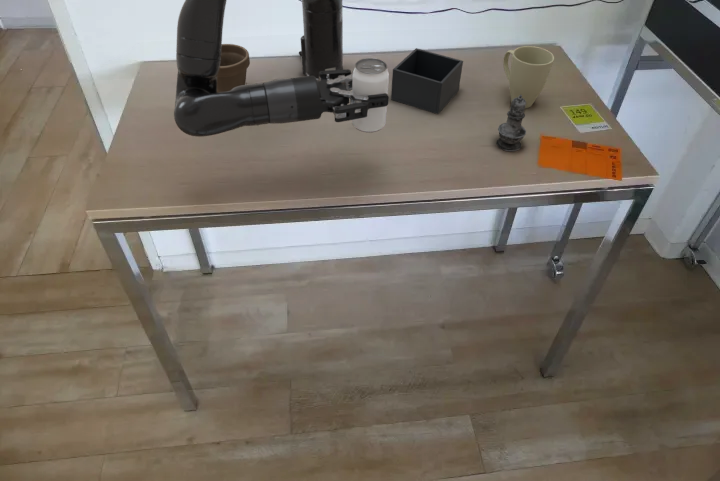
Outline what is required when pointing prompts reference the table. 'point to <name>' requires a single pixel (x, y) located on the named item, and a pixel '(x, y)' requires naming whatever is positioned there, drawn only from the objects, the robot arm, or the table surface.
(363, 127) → the can
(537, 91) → the mug
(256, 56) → the table surface
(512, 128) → the grey chess piece
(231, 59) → the flower pot
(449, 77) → the waste bin
